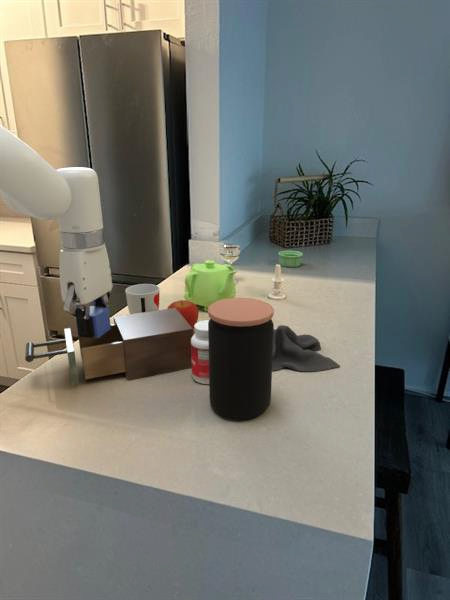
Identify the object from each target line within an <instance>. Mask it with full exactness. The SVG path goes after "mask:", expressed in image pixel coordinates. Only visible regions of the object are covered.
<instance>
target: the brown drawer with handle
mask: <svg viewBox="0 0 450 600" xmlns="http://www.w3.org/2000/svg"><path fill="white" fill-rule="evenodd" d="M110 324H111V329H110V330H109V331H107V332H106V333H105V334H103V335H102V336H101V337H99V338H94V337H93V338H85V337H80V336H79V335H78V334H77V336H78V337H77V338H78V344H79V352H80V360H81V364H82V368H83V373H84V379H85V380H90V379H95V378H101V377H106V376H110V375H111V376H112V375H117V374H123V373H124V372H126V365H125V355H124V344H123V340H122V338H121V336H120V333H119V331H118V329H117V326H116V324H114V323H110ZM63 331H64V338H62V339H56V340H49V341H43V342H37V343H34V342H32V341H29V342H26V344H25V355H24V357H25V358H24V360H25V361H26V362H27V363H32V362H33V361H34V360H36V359H42V358H48V357H54V356H55V357H56V356H61V355H66V354H67V360H68V368H69V373H70V380H71V386H76V385H79V383H80V382H79V376H78V375H79V374H78V368H77V367H78V366H77V361H76V353H75V347H74V341H73V335H72V330H71V327H68V328H64V330H63ZM59 344H60V345H61V344H65V345H66V349H60V350H53V351H47V352H42V353H37V354H35V348H40V347H41V348H42V347H48V346H53V345H59Z"/></svg>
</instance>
